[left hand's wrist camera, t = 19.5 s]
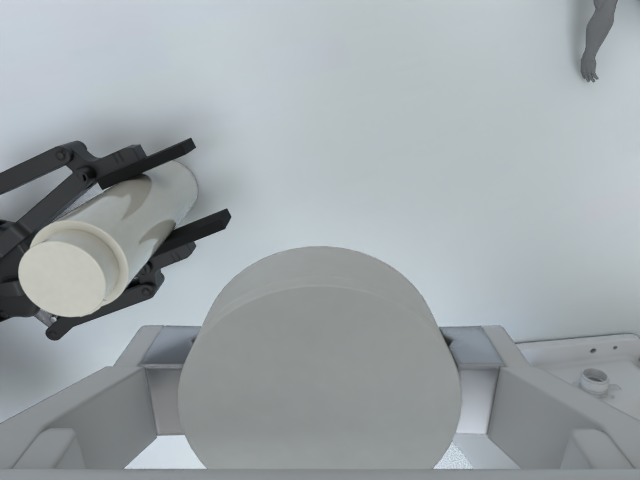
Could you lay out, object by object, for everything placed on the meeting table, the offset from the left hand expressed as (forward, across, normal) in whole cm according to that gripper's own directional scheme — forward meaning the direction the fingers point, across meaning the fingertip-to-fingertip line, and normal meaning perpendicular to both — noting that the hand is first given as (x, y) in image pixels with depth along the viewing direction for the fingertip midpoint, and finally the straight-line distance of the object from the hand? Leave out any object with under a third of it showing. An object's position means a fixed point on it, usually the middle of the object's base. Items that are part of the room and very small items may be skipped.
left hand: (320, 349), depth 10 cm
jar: (+28, +13, +3) cm, 31 cm away
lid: (-2, 0, 0) cm, 2 cm away
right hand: (+22, +8, +1) cm, 23 cm away
